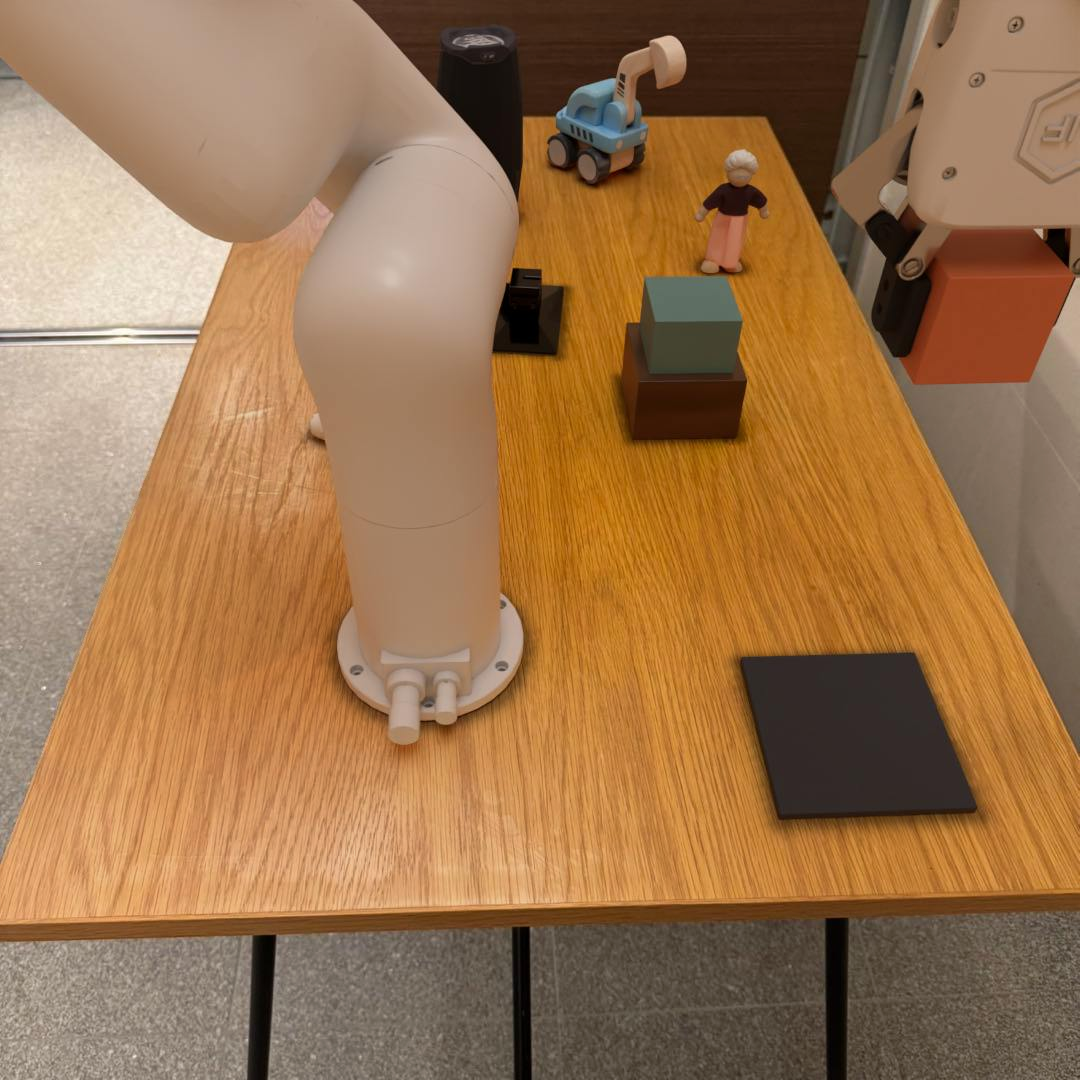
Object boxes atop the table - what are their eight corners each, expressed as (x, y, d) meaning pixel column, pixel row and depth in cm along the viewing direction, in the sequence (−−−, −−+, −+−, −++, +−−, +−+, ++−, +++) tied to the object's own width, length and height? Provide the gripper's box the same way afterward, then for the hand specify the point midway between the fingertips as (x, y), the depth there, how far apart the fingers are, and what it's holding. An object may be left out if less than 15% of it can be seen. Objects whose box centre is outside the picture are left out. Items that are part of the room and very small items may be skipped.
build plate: (556, 357, 94) (558, 314, 91) (480, 353, 95) (479, 310, 91) (564, 288, 103) (565, 247, 100) (493, 285, 104) (493, 243, 100)
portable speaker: (427, 216, 114) (415, 33, 101) (488, 192, 119) (484, 14, 106) (477, 243, 110) (471, 55, 96) (538, 216, 115) (540, 34, 101)
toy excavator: (636, 208, 117) (650, 53, 105) (540, 162, 125) (543, 14, 114) (685, 187, 121) (703, 36, 109) (588, 144, 130) (596, 0, 118)
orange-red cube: (1029, 383, 46) (1076, 275, 42) (913, 385, 46) (949, 277, 42) (984, 319, 50) (1022, 215, 46) (877, 321, 50) (907, 217, 46)
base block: (736, 438, 86) (747, 380, 82) (632, 439, 85) (638, 381, 81) (717, 377, 92) (727, 321, 88) (621, 378, 92) (626, 322, 88)
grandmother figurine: (699, 280, 105) (716, 161, 96) (685, 262, 108) (700, 146, 99) (765, 271, 107) (788, 154, 98) (750, 254, 109) (771, 138, 101)
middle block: (733, 373, 82) (743, 320, 79) (649, 374, 82) (655, 321, 79) (718, 327, 87) (726, 275, 84) (639, 328, 87) (644, 276, 84)
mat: (975, 812, 60) (978, 807, 60) (778, 819, 59) (780, 814, 59) (912, 657, 69) (914, 651, 68) (739, 662, 68) (741, 656, 68)
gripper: (908, -78, 32) (796, 390, 44) (1419, -76, 33) (1168, 382, 45) (842, -128, 37) (759, 302, 50) (1283, -125, 38) (1092, 296, 51)
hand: (955, 336), depth 47 cm, fingers closed on orange-red cube, 5 cm apart
